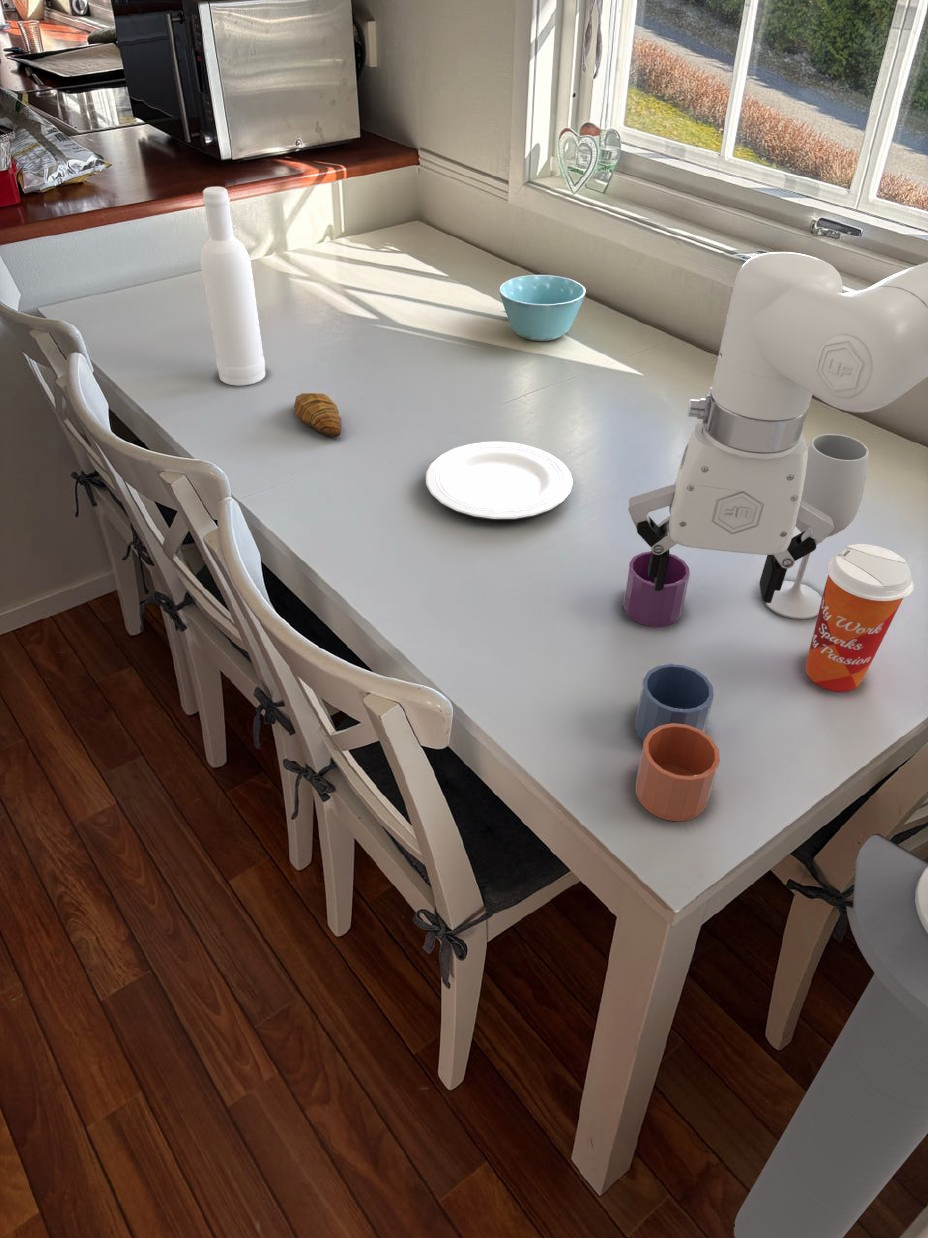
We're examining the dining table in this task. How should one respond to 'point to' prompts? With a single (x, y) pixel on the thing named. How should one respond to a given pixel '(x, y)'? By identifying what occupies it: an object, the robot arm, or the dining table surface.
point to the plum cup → (655, 592)
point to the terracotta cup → (676, 771)
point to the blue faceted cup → (673, 698)
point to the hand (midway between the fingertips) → (711, 587)
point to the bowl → (541, 305)
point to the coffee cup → (855, 614)
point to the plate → (499, 480)
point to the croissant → (318, 413)
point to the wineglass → (825, 509)
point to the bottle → (230, 296)
